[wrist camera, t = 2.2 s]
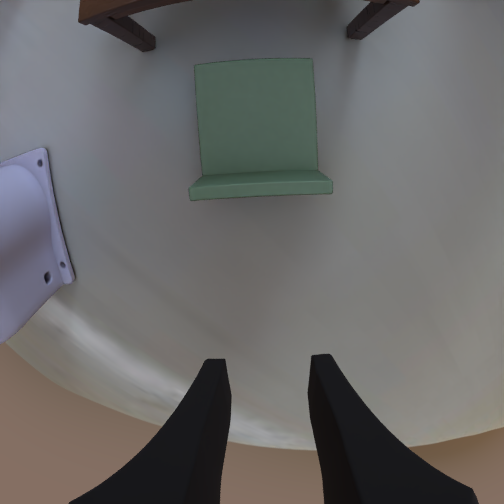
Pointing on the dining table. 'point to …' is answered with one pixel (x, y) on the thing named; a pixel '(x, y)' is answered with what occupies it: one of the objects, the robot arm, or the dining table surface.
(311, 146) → the chair
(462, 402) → the dining table surface
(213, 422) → the robot arm
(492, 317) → the dining table surface
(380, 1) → the desk
